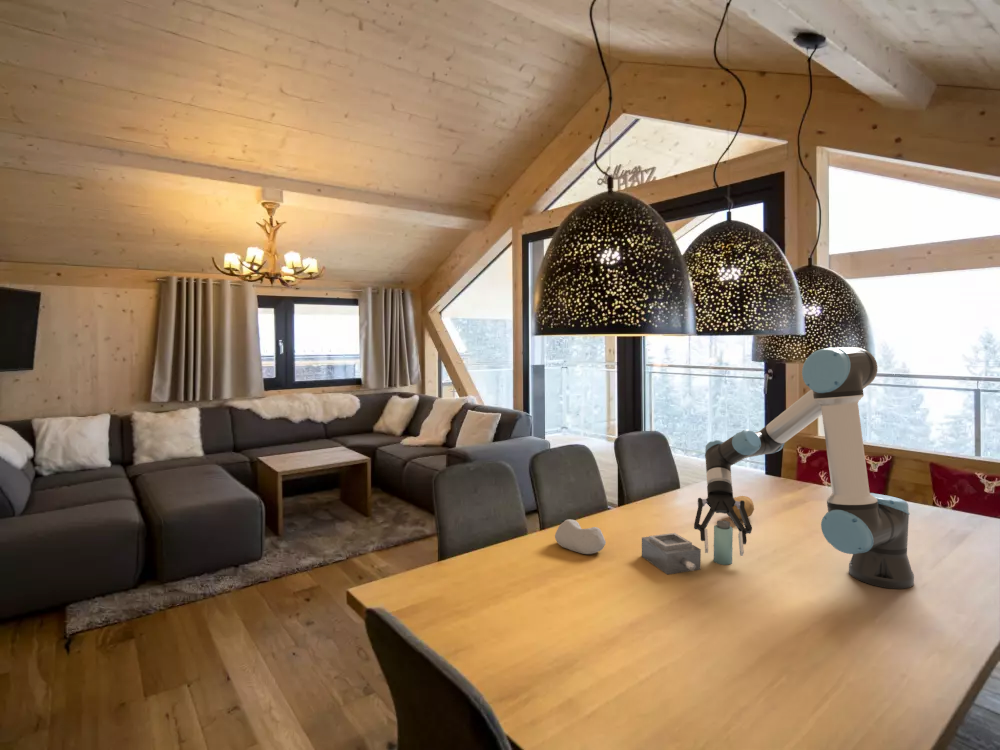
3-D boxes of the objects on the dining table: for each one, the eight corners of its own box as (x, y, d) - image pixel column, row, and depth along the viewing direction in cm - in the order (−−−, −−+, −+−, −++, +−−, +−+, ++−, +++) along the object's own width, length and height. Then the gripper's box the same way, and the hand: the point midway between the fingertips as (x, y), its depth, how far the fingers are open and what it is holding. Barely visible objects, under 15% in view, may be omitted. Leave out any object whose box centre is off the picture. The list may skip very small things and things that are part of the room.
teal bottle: (735, 563, 170) (736, 524, 169) (721, 565, 168) (721, 526, 168) (724, 557, 175) (725, 518, 174) (709, 559, 173) (710, 520, 173)
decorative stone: (546, 538, 185) (559, 510, 188) (562, 548, 192) (575, 521, 194) (587, 557, 173) (601, 527, 175) (603, 567, 179) (616, 538, 181)
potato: (760, 516, 213) (760, 495, 212) (745, 526, 203) (745, 503, 202) (733, 511, 220) (734, 490, 219) (718, 520, 210) (718, 498, 209)
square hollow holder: (709, 575, 162) (709, 550, 162) (675, 580, 159) (675, 554, 159) (669, 549, 181) (669, 527, 181) (638, 554, 178) (638, 531, 178)
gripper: (754, 493, 182) (762, 561, 168) (683, 489, 188) (684, 554, 174) (757, 481, 177) (766, 550, 163) (684, 477, 183) (685, 543, 168)
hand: (724, 552), depth 168 cm, fingers open, 9 cm apart
